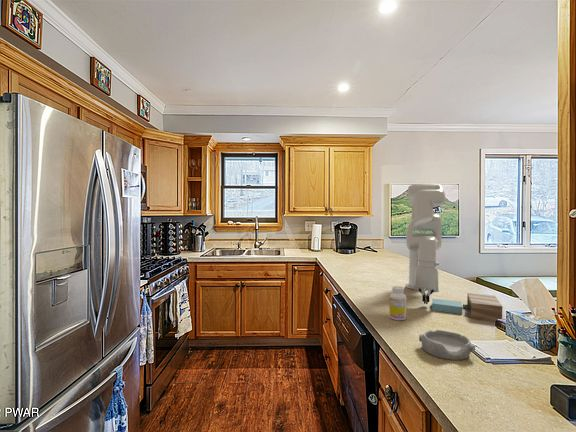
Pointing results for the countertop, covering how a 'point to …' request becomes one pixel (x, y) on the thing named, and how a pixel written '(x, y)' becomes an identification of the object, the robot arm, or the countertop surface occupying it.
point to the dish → (446, 344)
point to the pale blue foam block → (447, 306)
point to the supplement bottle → (397, 304)
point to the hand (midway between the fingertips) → (425, 303)
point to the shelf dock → (483, 307)
